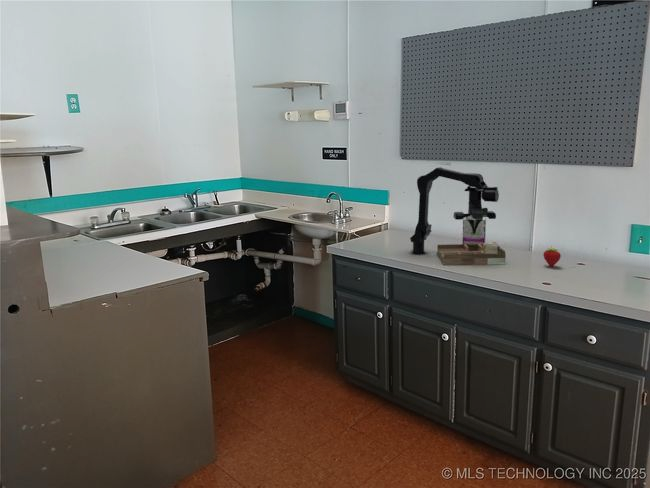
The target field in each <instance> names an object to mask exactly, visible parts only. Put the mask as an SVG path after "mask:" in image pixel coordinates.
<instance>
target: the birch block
mask: <svg viewBox="0 0 650 488" xmlns="http://www.w3.org/2000/svg"><path fill="white" fill-rule="evenodd" d="M495 243H496V242H495ZM495 243H493V242H491V243H490V242H489V243H486V242H485V243H483V252H484V253H485V254H497V252H498V246H499V245H498V244H497V243H496V244H497V245H498V246H497V245H496V244H495Z"/></svg>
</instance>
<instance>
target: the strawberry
mask: <svg viewBox="0 0 650 488" xmlns="http://www.w3.org/2000/svg"><path fill="white" fill-rule="evenodd" d="M550 247H551V248H549V247H548V248H547V249H545V251H543V259H544V260H545V262H546V263H547V264H548V266H549V267H551V268H553V267H554V266H555V265H557V263H558V262H559V261H560V259H561V257H562V256H561V253H560V252H559V250H558V249H556V248H552V246H550Z"/></svg>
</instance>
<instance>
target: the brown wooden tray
mask: <svg viewBox="0 0 650 488" xmlns="http://www.w3.org/2000/svg"><path fill="white" fill-rule="evenodd" d="M492 243H495V244H496V245H497V246H498V252H497V254H485V253H484V252H483V244H463V243H460V244H459V243H458V244H456V243H455V244H450V243H449V244H437V256H438V258H439V260H440V261H441V263H442V265H443V266H468V265H469V266H470V265H471V266H473V265H474V266H475V265H477V266H478V265H483V266H484V265H489V266H490V265H491V266H492V265H505V264H506V255H507V254H506V250H504V248H502V247H501V246H500V245H499V244H498V243H496V242H495V241H494V242H493V241H492Z"/></svg>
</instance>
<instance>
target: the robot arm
mask: <svg viewBox="0 0 650 488" xmlns="http://www.w3.org/2000/svg"><path fill="white" fill-rule="evenodd" d="M440 177H442V178H445V179H449V180H454V181H458V182H462V183H463V184H465V185H467V187H466V188H465V189H464V192H468V210H467V211H468V212H467V213H464V212H463V211H455V212H453V218H454V220H456V221H457V220H459V221H460V220H461V221H463V219H464V218H466V220H467V221H469V223H470V226H471V229H472V232H473V233H475V232H476V229H477V227H478V225H479V223H480V222H481V221H483V218H488V219H489V220H495V219H497V214H496V212H494V211H492V210H491V211H489V209H488V207H483V205H482V200H483V202H488V203H489V202H492V203H493V202H494V203H497V202H498V201H499V198H500V194H499V190H498V188H499V187H497V186H488V185H487V183H486V182H485V181H484V177H483V175H482V174H481V173H472V172H471V173H470V172H469V173H465V172H460V171H455V170H451V169H447V168H443V167H435V168H434V169H433V170H431V171H430V172H428V173H427V174H425V175H424V174H423V175H420V176H419V177H418V178H417V180H416V187H417V190H418V193H419V199H418V200H419V201H418V202H419V203H418V221H417V224H416V226H415V231H414V234H413V235H412V236H411V237H409V240H410V242H411V243H412V249H411V254H413V255H414V254H415V255H417V254H418V255H423V254H424V255H425V254H426V251H425V240H427V237H429V236H430V234H431V233H432V224H431V223H430V224H429V221H428V220H429V219H428V218H429V203H430V202H429V199H430V192H431V189H432V187H433V182H434V181H436V180H437V179H438V178H440Z"/></svg>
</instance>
